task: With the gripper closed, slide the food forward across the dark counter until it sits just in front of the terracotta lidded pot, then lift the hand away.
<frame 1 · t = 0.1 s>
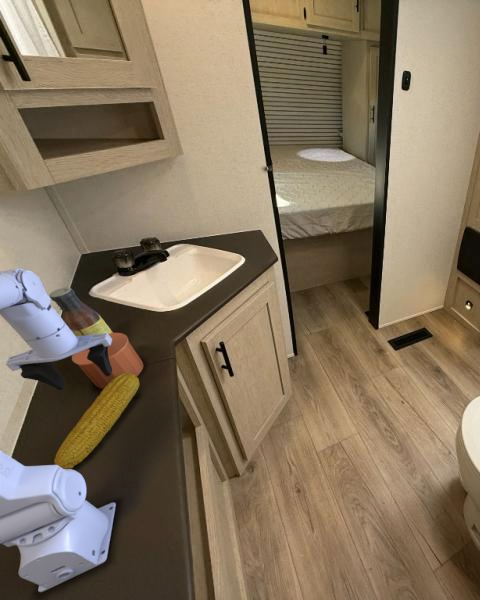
hand: (86, 379, 66), 10 cm above the worktop, tool pointing down, fingers open, 7 cm apart
sauce bottle: (108, 352, 86), on the worktop
pot lid: (101, 349, 75), point 8 cm above the worktop, touching pot
pot: (120, 373, 80), on the worktop
food: (109, 424, 69), on the worktop
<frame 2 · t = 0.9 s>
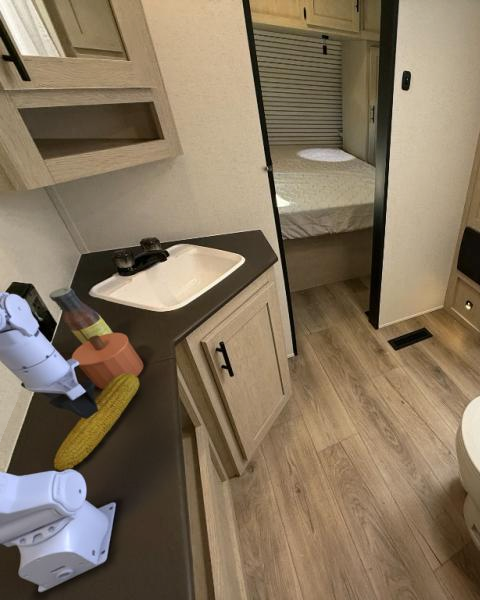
hand: (79, 407, 61), 10 cm above the worktop, tool pointing down, fingers open, 7 cm apart
nothing on the worktop moved.
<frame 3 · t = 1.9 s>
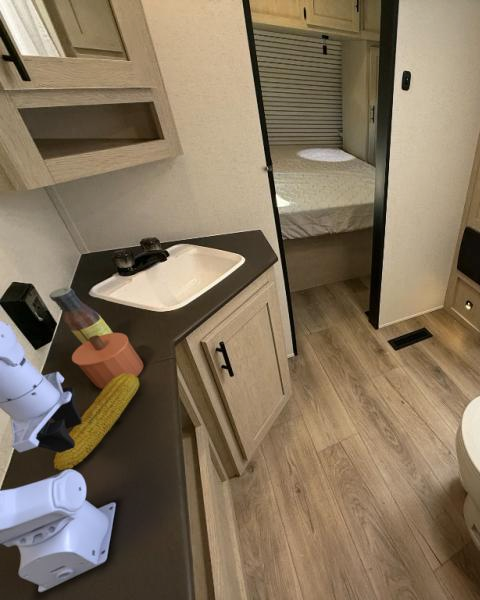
hand: (71, 436, 56), 9 cm above the worktop, tool pointing down, fingers open, 4 cm apart
nothing on the worktop moved.
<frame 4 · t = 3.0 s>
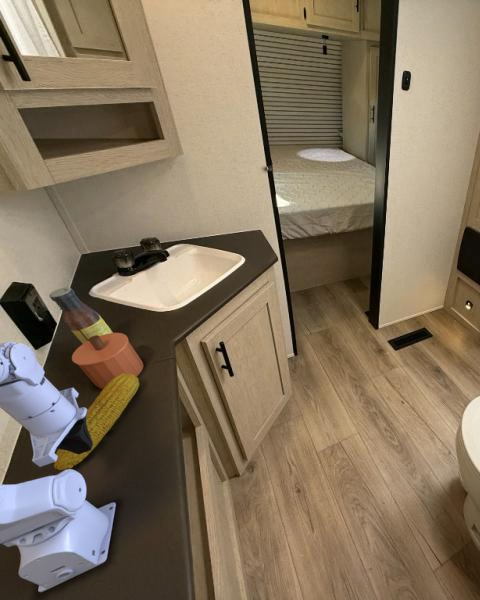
hand: (85, 449, 59), 5 cm above the worktop, tool pointing down, fingers closed
nothing on the worktop moved.
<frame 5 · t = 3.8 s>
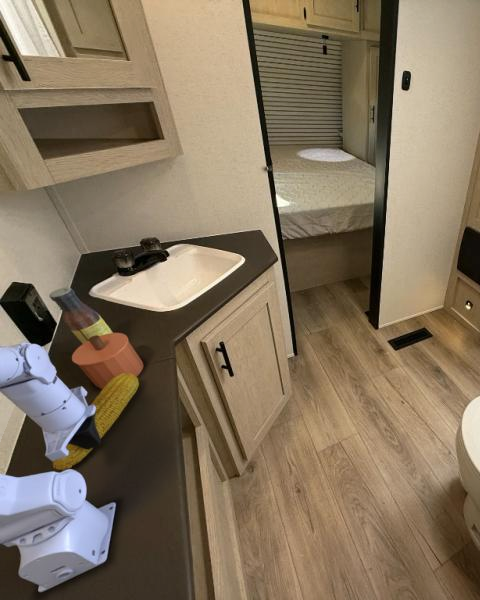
hand: (94, 445, 62), 3 cm above the worktop, tool pointing down, fingers closed
food: (108, 424, 69), on the worktop, touching gripper
everything else where it was.
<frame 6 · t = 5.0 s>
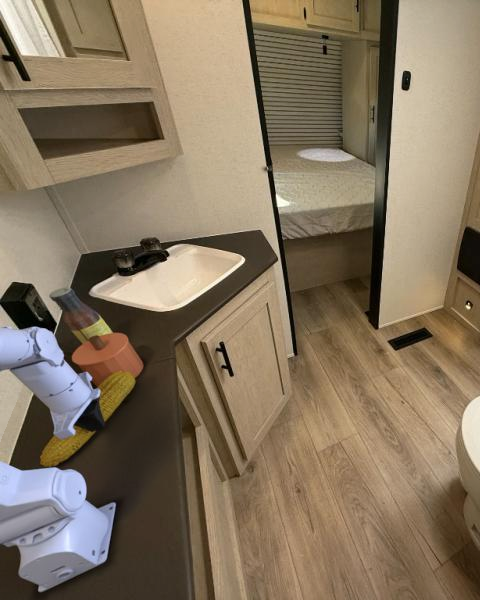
hand: (98, 427, 65), 3 cm above the worktop, tool pointing down, fingers closed
food: (101, 421, 69), on the worktop, touching gripper
everything else where it was.
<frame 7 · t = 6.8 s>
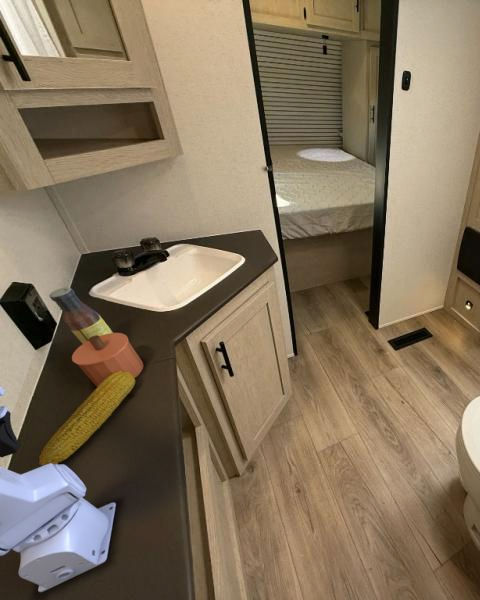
hand: (10, 451, 54), 9 cm above the worktop, tool pointing down, fingers closed
food: (100, 421, 69), on the worktop
everything else where it was.
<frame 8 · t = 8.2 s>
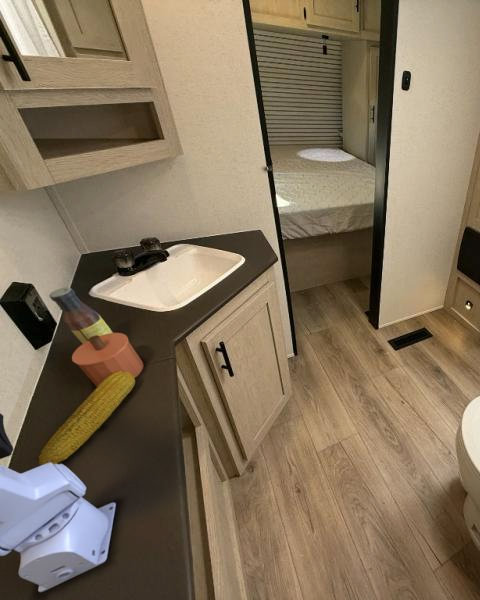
hand: (4, 454, 53), 9 cm above the worktop, tool pointing down, fingers closed
food: (100, 421, 69), on the worktop, touching pot
everything else where it was.
at the end: food 2.5 cm from the target spot on the worktop beside the pot, on the worktop; food moved 2.5 cm from its start; food tilted 0° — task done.
